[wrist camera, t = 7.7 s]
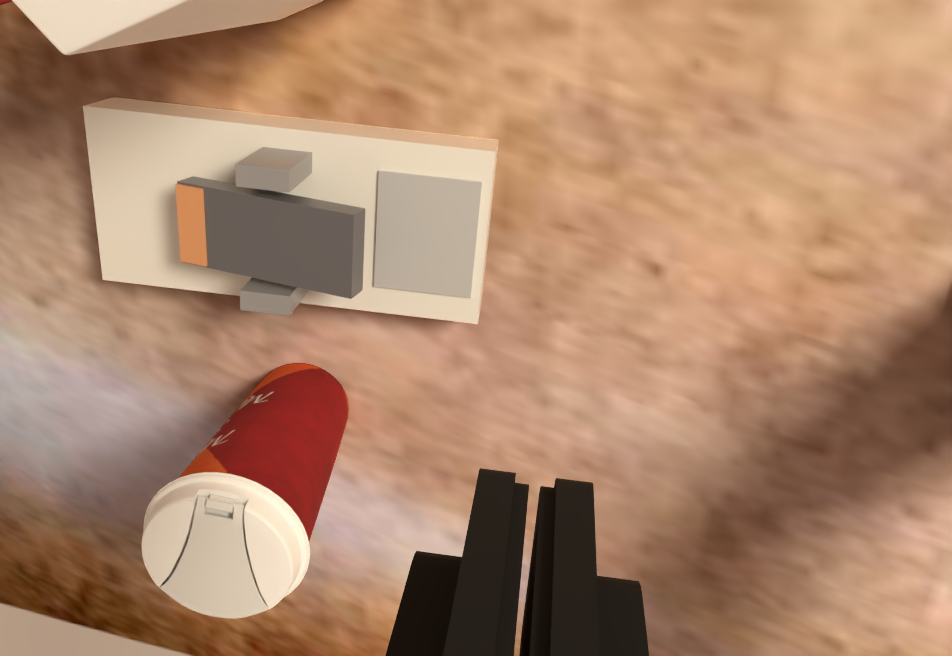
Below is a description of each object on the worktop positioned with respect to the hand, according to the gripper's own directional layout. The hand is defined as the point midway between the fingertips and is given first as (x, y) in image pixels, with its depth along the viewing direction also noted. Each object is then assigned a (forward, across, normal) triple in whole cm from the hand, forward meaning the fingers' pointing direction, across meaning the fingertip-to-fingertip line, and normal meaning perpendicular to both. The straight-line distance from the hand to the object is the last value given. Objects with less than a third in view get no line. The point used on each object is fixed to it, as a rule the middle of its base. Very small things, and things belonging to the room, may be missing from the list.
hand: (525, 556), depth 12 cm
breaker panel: (+30, +13, +4) cm, 33 cm away
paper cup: (+30, +14, +16) cm, 37 cm away
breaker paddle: (+24, +13, +4) cm, 28 cm away
